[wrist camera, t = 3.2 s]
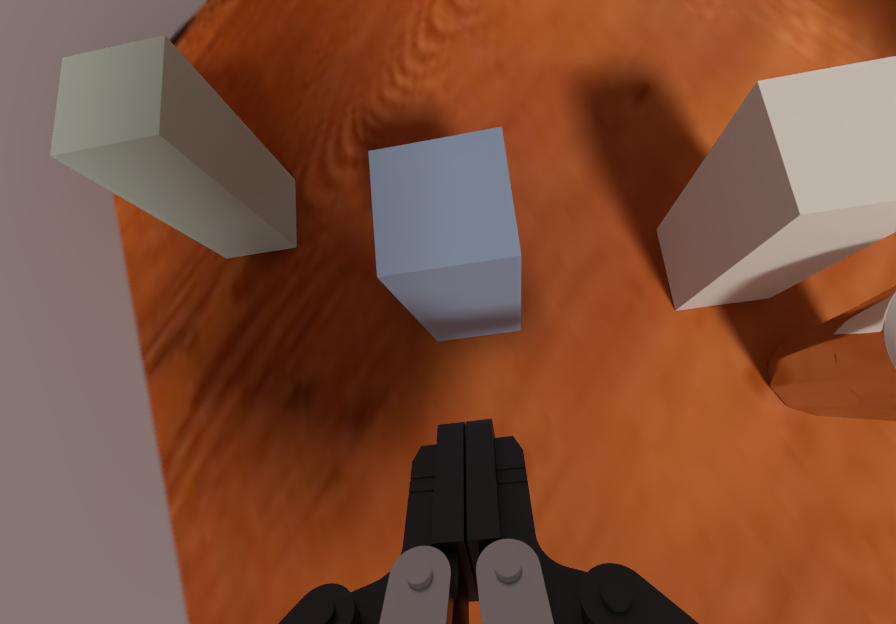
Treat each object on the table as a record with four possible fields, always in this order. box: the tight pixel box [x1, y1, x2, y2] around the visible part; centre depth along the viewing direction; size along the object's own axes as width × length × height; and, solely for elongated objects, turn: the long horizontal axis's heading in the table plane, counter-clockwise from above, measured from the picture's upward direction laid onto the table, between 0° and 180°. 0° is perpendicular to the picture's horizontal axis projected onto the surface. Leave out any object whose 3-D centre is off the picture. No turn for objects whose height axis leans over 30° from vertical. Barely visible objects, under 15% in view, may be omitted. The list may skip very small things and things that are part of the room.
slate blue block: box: [368, 127, 521, 342], centre depth 18 cm, size 4×4×10 cm
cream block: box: [656, 56, 896, 311], centre depth 17 cm, size 4×4×10 cm
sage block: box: [50, 35, 297, 259], centre depth 21 cm, size 4×4×10 cm
